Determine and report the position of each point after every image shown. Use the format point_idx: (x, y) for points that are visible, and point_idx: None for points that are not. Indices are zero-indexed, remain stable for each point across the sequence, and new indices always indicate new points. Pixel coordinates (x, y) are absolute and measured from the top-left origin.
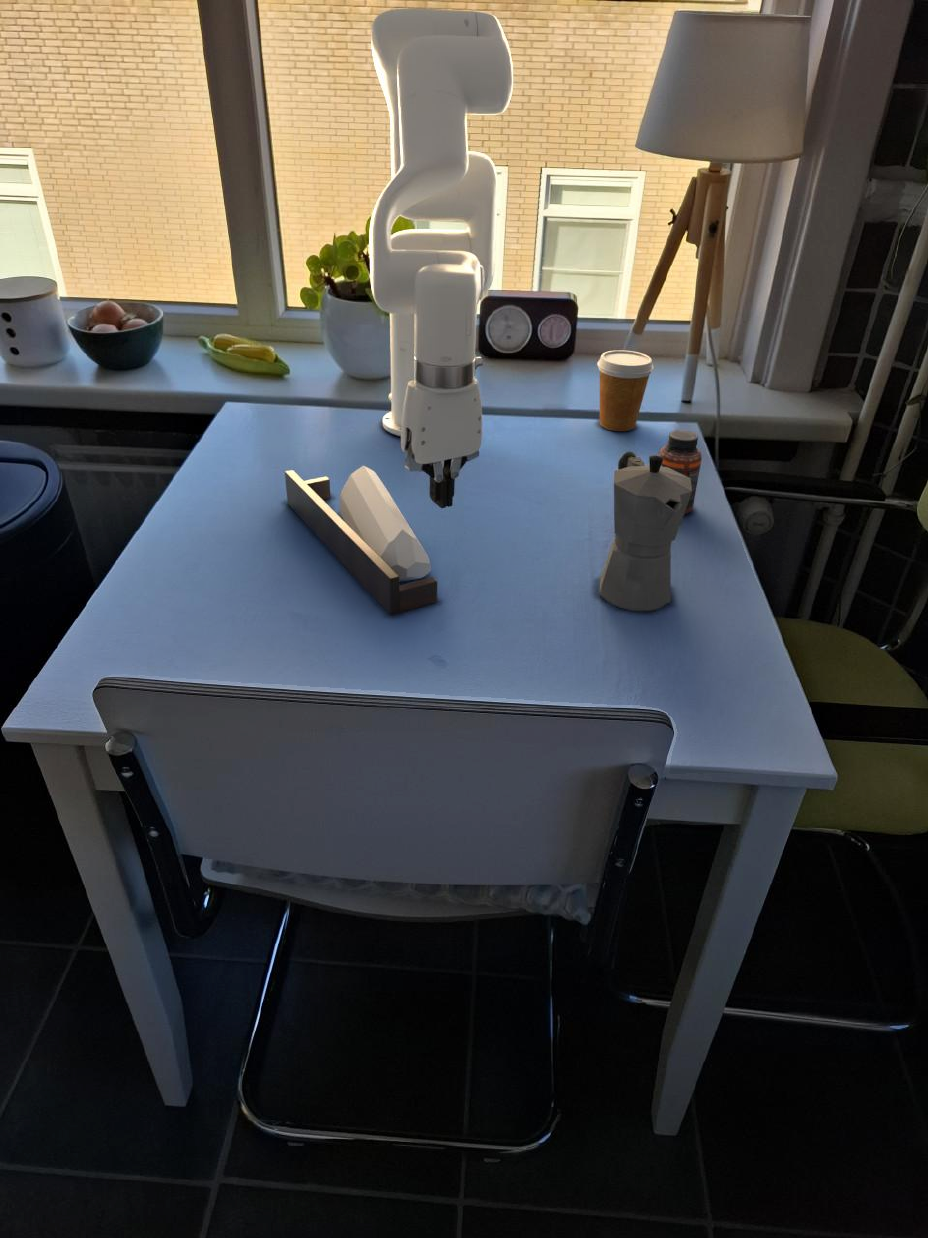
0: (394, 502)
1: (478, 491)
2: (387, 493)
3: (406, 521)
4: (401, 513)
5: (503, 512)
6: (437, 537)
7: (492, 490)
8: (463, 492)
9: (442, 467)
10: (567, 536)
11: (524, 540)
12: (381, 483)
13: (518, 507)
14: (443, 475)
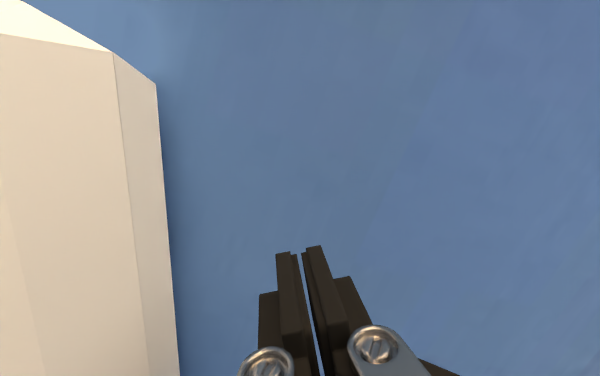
0: (113, 253)
1: (506, 43)
2: (28, 343)
3: (144, 361)
4: (135, 312)
5: (493, 210)
6: None
7: (549, 52)
8: (457, 33)
9: (352, 370)
10: (552, 355)
11: (457, 353)
12: (3, 225)
13: (546, 192)
14: (335, 373)
